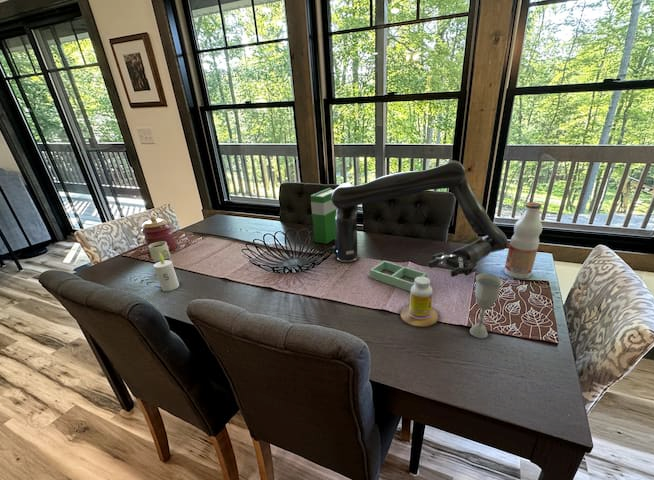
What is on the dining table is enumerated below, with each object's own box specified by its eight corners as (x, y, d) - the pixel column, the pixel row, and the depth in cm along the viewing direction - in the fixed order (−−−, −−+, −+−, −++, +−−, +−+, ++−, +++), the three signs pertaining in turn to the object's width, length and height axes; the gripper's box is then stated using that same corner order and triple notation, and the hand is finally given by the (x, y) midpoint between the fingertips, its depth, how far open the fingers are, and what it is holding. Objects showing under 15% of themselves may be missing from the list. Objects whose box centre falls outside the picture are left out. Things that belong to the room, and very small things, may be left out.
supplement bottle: (430, 321, 98) (434, 286, 92) (409, 319, 99) (411, 284, 93) (429, 309, 103) (433, 275, 97) (409, 307, 105) (411, 274, 99)
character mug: (182, 269, 139) (173, 242, 133) (168, 277, 133) (159, 249, 127) (164, 266, 143) (155, 240, 137) (150, 273, 137) (140, 246, 131)
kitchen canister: (182, 247, 163) (172, 214, 155) (158, 256, 153) (146, 222, 145) (168, 243, 169) (158, 211, 161) (144, 251, 159) (131, 218, 151)
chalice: (462, 325, 96) (470, 274, 87) (483, 323, 96) (494, 272, 88) (473, 341, 89) (483, 287, 81) (496, 339, 90) (508, 285, 81)
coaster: (393, 317, 101) (393, 316, 101) (411, 301, 109) (412, 300, 109) (427, 332, 94) (427, 331, 93) (444, 313, 102) (444, 312, 101)
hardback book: (332, 230, 175) (329, 187, 164) (343, 232, 172) (341, 188, 161) (314, 241, 162) (310, 195, 151) (326, 243, 158) (323, 197, 147)
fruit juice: (517, 281, 118) (535, 209, 105) (498, 270, 126) (512, 202, 113) (536, 276, 120) (555, 205, 108) (516, 266, 128) (532, 199, 115)
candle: (162, 292, 121) (149, 258, 114) (162, 285, 127) (150, 252, 120) (179, 288, 124) (168, 254, 117) (179, 281, 129) (168, 248, 122)
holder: (369, 277, 125) (369, 269, 124) (384, 268, 132) (384, 260, 130) (413, 292, 114) (413, 284, 112) (426, 281, 121) (427, 273, 119)
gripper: (452, 240, 115) (424, 252, 107) (489, 251, 105) (461, 266, 97) (450, 258, 119) (422, 272, 110) (485, 271, 109) (458, 287, 100)
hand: (440, 269), depth 103 cm, fingers open, 8 cm apart
